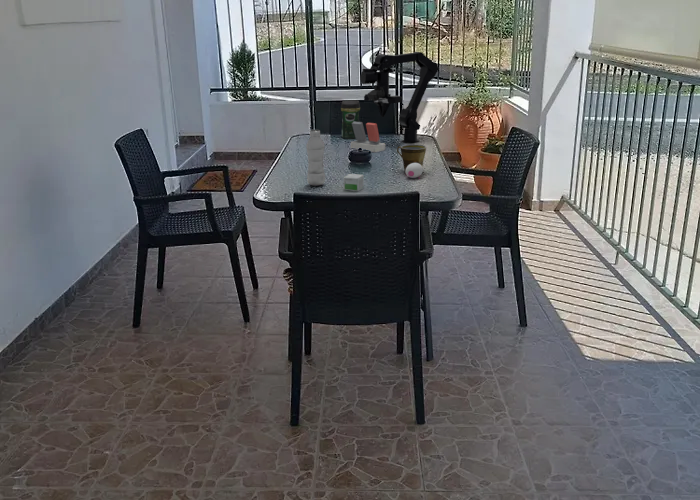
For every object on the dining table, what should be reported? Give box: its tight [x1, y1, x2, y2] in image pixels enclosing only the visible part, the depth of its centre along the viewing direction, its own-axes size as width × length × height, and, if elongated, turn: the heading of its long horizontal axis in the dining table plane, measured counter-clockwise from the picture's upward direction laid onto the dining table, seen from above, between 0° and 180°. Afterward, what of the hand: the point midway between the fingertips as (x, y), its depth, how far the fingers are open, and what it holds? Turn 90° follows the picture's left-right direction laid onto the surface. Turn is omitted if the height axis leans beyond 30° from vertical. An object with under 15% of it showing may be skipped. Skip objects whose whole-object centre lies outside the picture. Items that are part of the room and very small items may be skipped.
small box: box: [343, 173, 365, 192], centre depth 231 cm, size 6×6×5 cm
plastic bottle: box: [306, 129, 326, 187], centre depth 234 cm, size 6×7×20 cm
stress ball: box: [404, 163, 424, 180], centre depth 246 cm, size 8×8×7 cm
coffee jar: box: [340, 99, 361, 140], centre depth 323 cm, size 10×8×19 cm
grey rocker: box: [352, 121, 368, 142], centre depth 297 cm, size 2×5×9 cm, turn 47°
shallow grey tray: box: [350, 140, 386, 153], centre depth 298 cm, size 7×15×3 cm, turn 47°
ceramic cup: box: [396, 143, 427, 174], centre depth 254 cm, size 13×10×10 cm
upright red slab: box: [365, 122, 381, 144], centre depth 292 cm, size 2×5×9 cm, turn 47°
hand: (382, 117), depth 304 cm, fingers closed
